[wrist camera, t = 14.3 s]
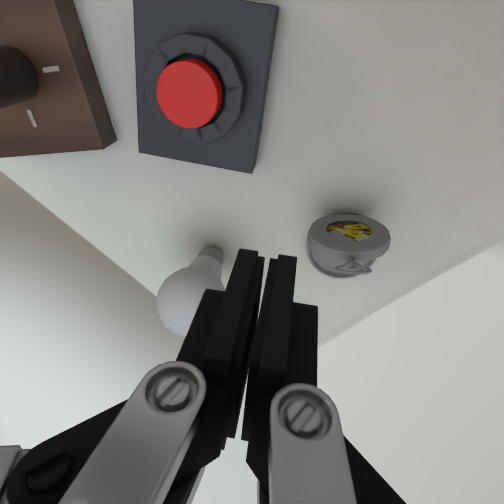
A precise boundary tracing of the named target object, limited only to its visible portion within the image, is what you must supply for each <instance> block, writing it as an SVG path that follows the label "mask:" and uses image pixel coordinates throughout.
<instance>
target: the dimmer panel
mask: <svg viewBox="0 0 504 504" xmlns="http://www.w3.org/2000/svg"><path fill="white" fill-rule="evenodd" d="M0 46H10V47H13V48H15V49H17V50H19V51H20V52H22V53H23V54H24V55H25V56H26V57H27V58H28V59H29V60H30V62H31V63H32V65H33V67H34V69H35V71H36V74H37V78H38V89H37V92H36V94H35V95H34V97H33V98H31V99H30V100H27V101H24V102H20V103H17V104H14V105H11V106H7V107H4V108H1V109H0V158H3V157H15V156H27V155H39V154H51V153H63V152H75V151H86V150H98V149H105V148H106V147H108V146H109V145H111V144H112V143H114V142H115V141H116V137H115V134H114V131H113V127H112V124H111V121H110V118H109V115H108V112H107V108H106V105H105V102H104V99H103V96H102V93H101V89H100V86H99V83H98V80H97V77H96V73H95V70H94V67H93V64H92V61H91V58H90V54H89V51H88V48H87V45H86V42H85V39H84V35H83V32H82V29H81V26H80V23H79V20H78V16H77V13H76V10H75V7H74V4H73V1H72V0H0Z"/></svg>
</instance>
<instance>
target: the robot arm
mask: <svg viewBox="0 0 504 504" xmlns="http://www.w3.org/2000/svg"><path fill="white" fill-rule="evenodd" d="M264 260H265V257H260V256H258V251H253V250H247V249H239V251H238V254H237V257H236V260H235V263H234V266H233V269H232V272H231V275H230V278H229V281H228V284H227V287H226V290H225V291H220V290H214V289H208V288H207V289H206V290H205V291H204V293H203V296H202V298H201V301H200V303H199V305H198V308H197V310H196V313H195V315H194V318H193V320H192V323H191V325H190V327H189V330H188V332H187V335H186V337H185V340H184V342H183V345H182V347H181V350H180V352H179V354H178V357H177V359H176V361H171V362H166V363H163V364H160V365H157V366H156V367H154V368H153V369H151V370H150V371H149V372H148V373H147V374H146V375H145V376H144V378H142V380H141V382H140V383H139V385H138V386H137V387H136V389H135V390H134V392H133V393H132V395H131V396H130V398H129V399H127V400H125V401H124V402H121V403H119V404H117V405H115V406H114V407H111V408H109V409H108V410H105V411H104V412H101V413H100V414H97V415H96V416H94V417H92V418H90V419H88V420H86V421H84V422H82V423H80V424H78V425H76V426H74V427H72V428H70V429H68V430H66V431H64V432H62V433H60V434H58V435H56V436H54V437H52V438H50V439H48V440H46V441H44V442H42V443H41V444H39V445H37V446H36V447H34V448H32V449H22V448H21V447H20V445H11V446H0V504H191V503H192V500H193V497H194V495H195V493H196V491H197V488H198V486H199V483H200V481H201V478H202V475H203V473H204V469H205V466H206V465H207V464H209V463H210V462H212V461H213V460H215V459H216V458H218V457H219V456H220V452H221V450H224V448H225V443H226V438H227V437H229V438H235V434H236V429H237V424H238V419H239V414H240V409H241V404H242V399H243V394H244V389H245V384H246V379H247V374H248V380H247V389H246V399H245V408H244V418H243V426H242V436H241V440H245V441H249V442H248V449H247V457H246V462H247V464H248V465H249V467H250V468H251V470H252V471H253V473H254V474H255V476H256V477H257V479H258V482H257V504H406V503H405V502H404V501H403V500H402V499H401V498H400V497H399V495H398V494H397V493H396V492H395V491H394V490H393V489H392V488H391V487H390V486H389V484H388V483H387V482H386V481H385V480H384V479H383V478H382V477H381V476H380V475H379V474H378V472H377V471H376V470H375V469H374V468H373V467H372V466H371V465H370V464H369V463H368V462H367V460H366V459H365V458H364V457H363V456H362V455H361V454H360V453H359V452H358V451H357V449H356V448H354V446H353V445H352V444H351V443H350V442H349V441H348V440H347V439H346V437H345V436H344V435H343V432H342V428H341V422H340V418H339V413H338V411H337V408H336V406H335V404H334V402H333V401H332V400H331V398H330V397H329V396H328V395H327V394H326V393H325V392H323V391H322V390H321V389H319V388H317V343H318V307H317V306H314V305H307V304H301V303H295V302H293V295H294V285H295V275H296V264H297V257H293V256H287V255H280V254H279V255H278V259H273V258H270V263H269V268H268V273H267V278H266V283H265V288H264V293H263V298H262V303H261V308H260V313H259V318H258V312H259V304H260V295H261V287H262V278H263V269H264ZM257 321H258V323H257ZM248 369H249V371H248Z"/></svg>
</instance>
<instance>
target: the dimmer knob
mask: <svg viewBox="0 0 504 504" xmlns="http://www.w3.org/2000/svg"><path fill="white" fill-rule="evenodd" d="M37 89H38V78H37V74H36V71H35V69H34V67H33V65H32V63H31V62H30V60H29V59H28V58H27V57H26V56H25V55H24V54H23V53H22V52H20V51H19V50H17V49H15V48H13V47H10V46H0V109H1V108H4V107H7V106H11V105H14V104H17V103H20V102H24V101H27V100H30V99H31V98H33V97H34V95H35V94H36V92H37Z"/></svg>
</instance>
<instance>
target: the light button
mask: <svg viewBox="0 0 504 504" xmlns="http://www.w3.org/2000/svg"><path fill="white" fill-rule="evenodd" d="M156 93H157V100H158V103H159V106H160V108H161V110H162V111H163V113H164V114H165V116H166V117H167V118H168V119H169V120H170V121H172V122H173V123H174V124H176V125H178V126H180V127H184V128H189V129H190V128H198V127H201V126H203V125H205V124H206V123H208V122H209V121H210V120H211V119H212V118H213V117H214V116H215V115H216V113H217V112H218V110H219V109H220V106H221V104H222V99H223V90H222V85H221V82H220V79H219V77H218V75H217V74H216V72H215V71H214V70H213V69H212V68H211V67H210V66H209V65H208V64H207V63H205V62H203V61H201V60H198V59H193V58H187V59H183V60H180V61H177V62H174V63H172V64H170V65H168V66H167V67H166V68H165V69H164V70H163V71H162V73H161V74H160V76H159V79H158V82H157V88H156Z"/></svg>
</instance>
